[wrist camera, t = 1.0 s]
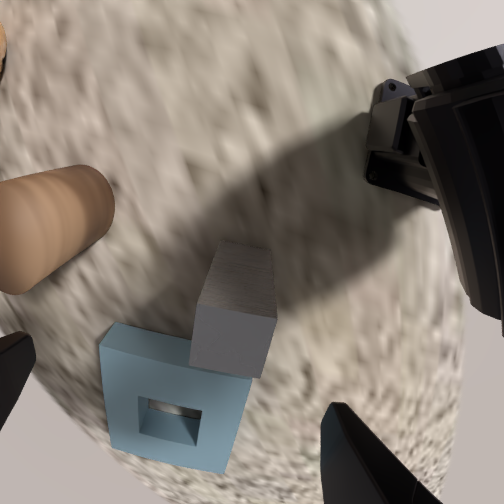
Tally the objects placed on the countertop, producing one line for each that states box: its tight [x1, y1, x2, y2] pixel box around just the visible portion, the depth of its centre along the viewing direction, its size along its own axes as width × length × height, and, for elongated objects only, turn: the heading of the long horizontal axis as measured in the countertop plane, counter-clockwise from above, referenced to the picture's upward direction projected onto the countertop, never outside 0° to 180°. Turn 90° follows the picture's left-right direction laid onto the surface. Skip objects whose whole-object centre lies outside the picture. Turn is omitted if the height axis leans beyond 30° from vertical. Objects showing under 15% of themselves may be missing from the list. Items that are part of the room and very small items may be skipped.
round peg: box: [0, 165, 115, 295], centre depth 15 cm, size 5×5×8 cm
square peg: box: [189, 240, 277, 378], centre depth 16 cm, size 3×3×8 cm
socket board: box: [99, 322, 252, 474], centre depth 22 cm, size 10×12×3 cm
